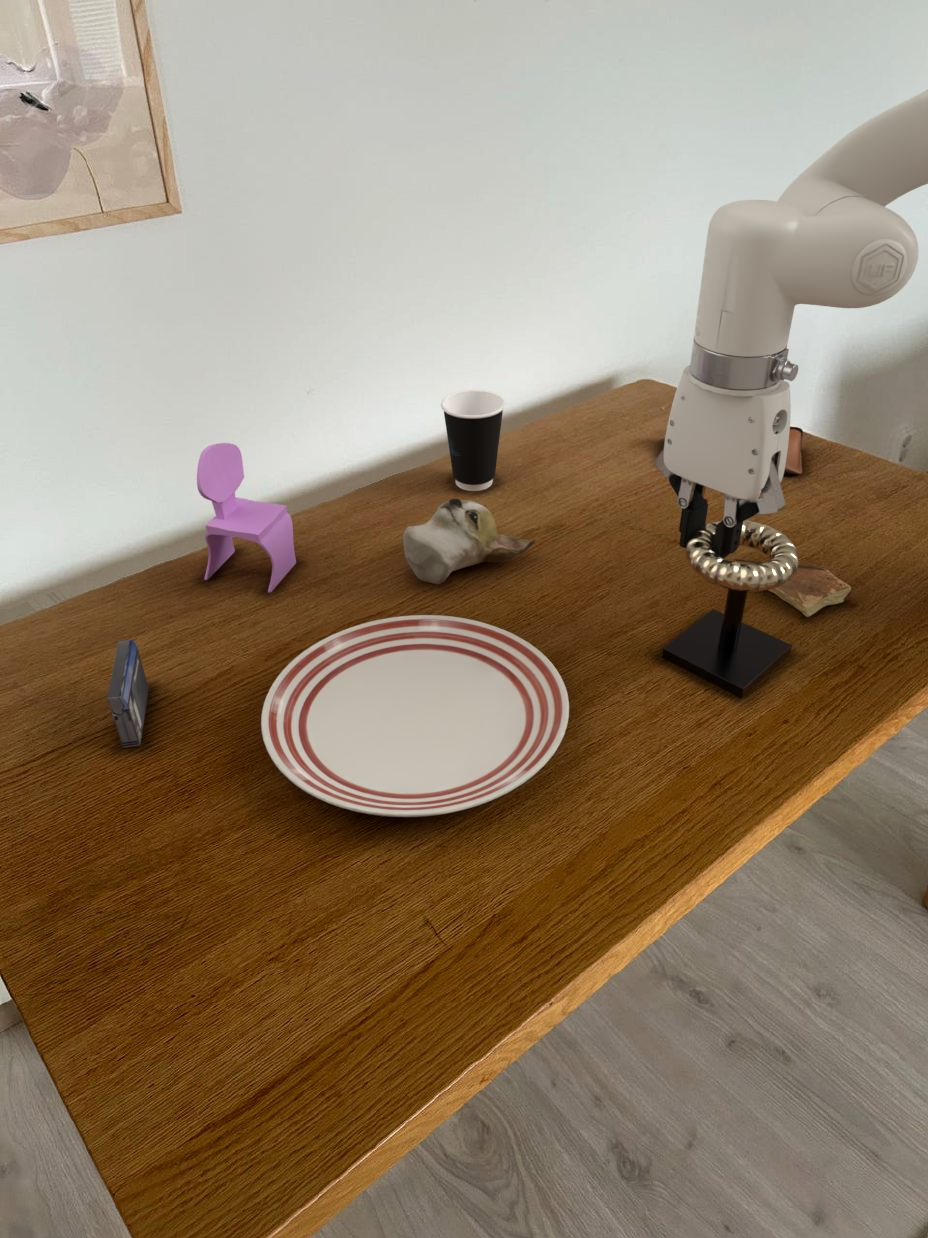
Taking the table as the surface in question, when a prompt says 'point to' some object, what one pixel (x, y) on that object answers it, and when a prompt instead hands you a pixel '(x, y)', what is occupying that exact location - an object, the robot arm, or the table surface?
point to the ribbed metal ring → (744, 574)
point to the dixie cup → (473, 436)
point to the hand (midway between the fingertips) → (707, 547)
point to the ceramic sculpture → (458, 541)
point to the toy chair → (241, 514)
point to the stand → (727, 648)
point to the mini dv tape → (128, 694)
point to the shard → (809, 588)
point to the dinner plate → (415, 716)
